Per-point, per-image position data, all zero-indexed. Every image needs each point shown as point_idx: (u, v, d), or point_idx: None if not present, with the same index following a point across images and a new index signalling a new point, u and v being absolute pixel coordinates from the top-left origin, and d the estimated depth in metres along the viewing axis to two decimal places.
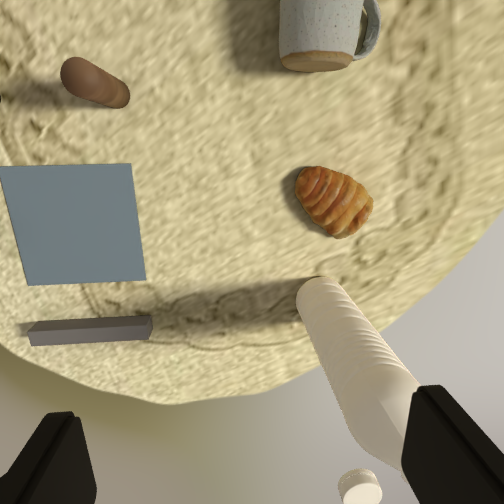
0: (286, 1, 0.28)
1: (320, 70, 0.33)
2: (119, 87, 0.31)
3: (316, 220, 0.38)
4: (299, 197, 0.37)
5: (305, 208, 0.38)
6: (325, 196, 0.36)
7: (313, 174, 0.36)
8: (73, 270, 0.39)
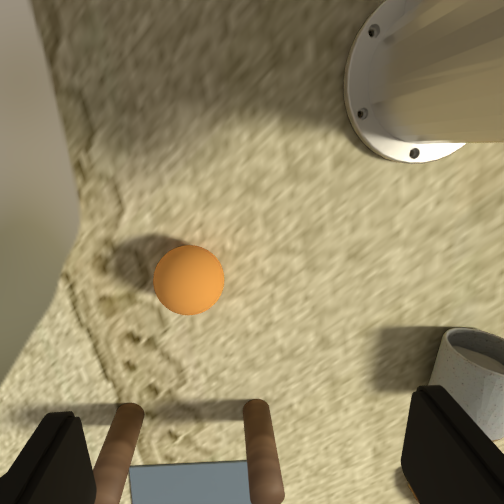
0: (455, 388, 0.29)
1: None
2: None
3: None
4: (413, 492, 0.38)
5: None
6: None
7: None
8: None
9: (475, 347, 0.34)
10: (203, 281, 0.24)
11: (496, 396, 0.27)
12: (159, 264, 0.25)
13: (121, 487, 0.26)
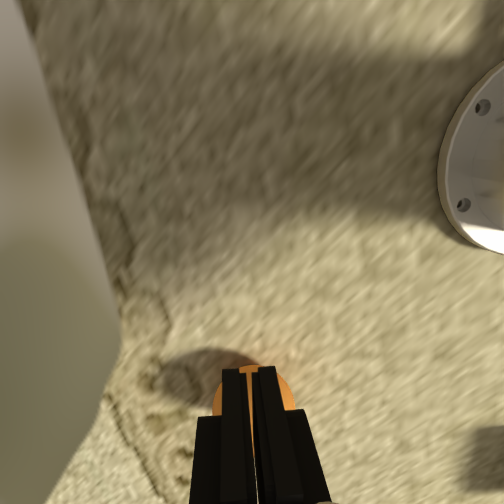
0: None
1: None
2: None
3: None
4: None
5: None
6: None
7: None
8: None
9: None
10: None
11: None
12: (220, 400, 0.21)
13: None
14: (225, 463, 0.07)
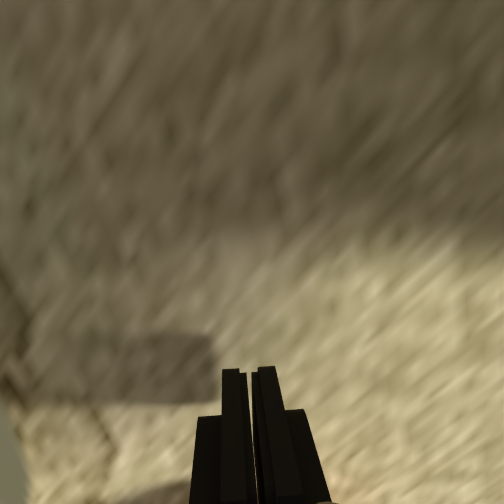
0: None
1: None
2: None
3: None
4: None
5: None
6: None
7: None
8: None
9: None
10: None
11: None
12: None
13: None
14: (225, 463, 0.07)
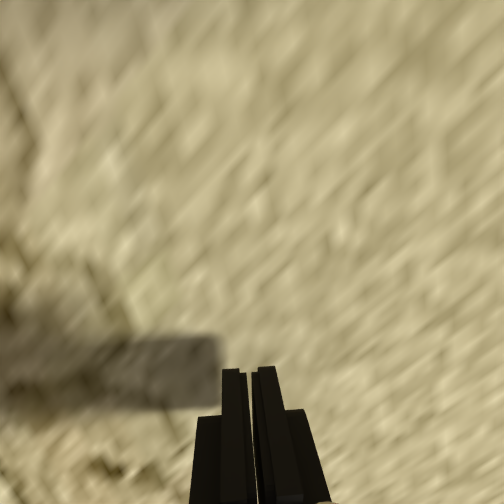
0: None
1: None
2: None
3: None
4: None
5: None
6: None
7: None
8: None
9: None
10: None
11: None
12: None
13: None
14: (225, 463, 0.07)
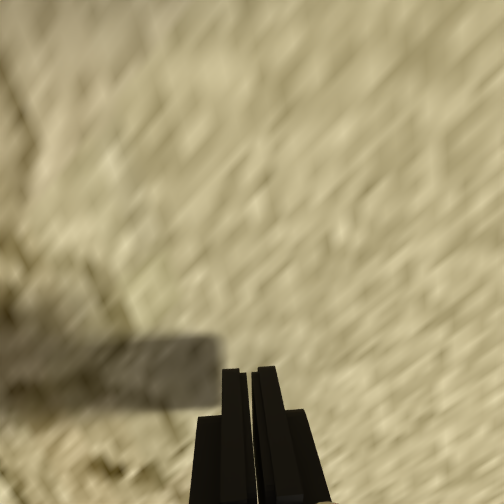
0: None
1: None
2: None
3: None
4: None
5: None
6: None
7: None
8: None
9: None
10: None
11: None
12: None
13: None
14: (225, 463, 0.07)
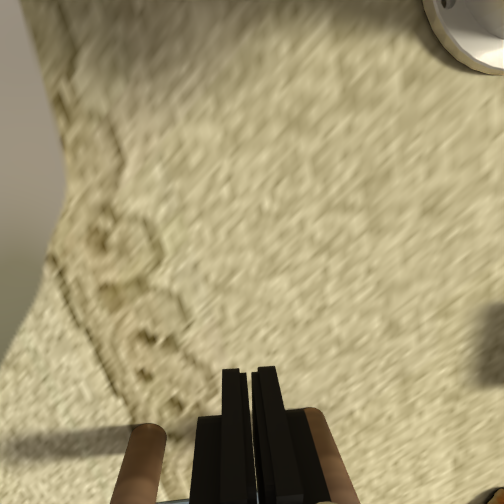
0: None
1: None
2: None
3: None
4: None
5: None
6: None
7: None
8: None
9: None
10: None
11: None
12: None
13: None
14: (225, 463, 0.07)
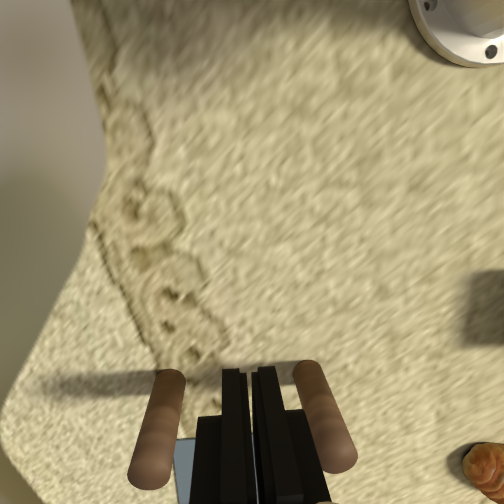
0: None
1: None
2: None
3: (490, 499, 0.36)
4: (470, 480, 0.35)
5: None
6: None
7: (488, 464, 0.34)
8: None
9: None
10: None
11: None
12: None
13: (171, 454, 0.23)
14: (225, 463, 0.07)
